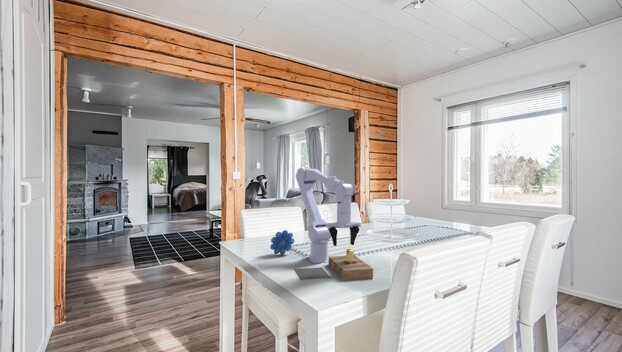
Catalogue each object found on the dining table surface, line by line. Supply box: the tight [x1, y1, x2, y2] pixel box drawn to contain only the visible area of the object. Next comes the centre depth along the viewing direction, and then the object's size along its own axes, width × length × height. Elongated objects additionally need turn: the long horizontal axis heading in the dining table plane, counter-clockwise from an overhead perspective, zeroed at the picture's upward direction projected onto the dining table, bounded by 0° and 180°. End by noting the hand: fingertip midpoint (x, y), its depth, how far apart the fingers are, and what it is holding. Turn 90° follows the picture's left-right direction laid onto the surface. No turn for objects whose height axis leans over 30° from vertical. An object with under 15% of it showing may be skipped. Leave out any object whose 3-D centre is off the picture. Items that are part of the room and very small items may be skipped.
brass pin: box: [345, 248, 355, 264], centre depth 118 cm, size 3×3×9 cm
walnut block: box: [328, 254, 374, 281], centre depth 118 cm, size 18×12×4 cm, turn 15°
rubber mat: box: [293, 266, 331, 281], centre depth 114 cm, size 12×12×1 cm
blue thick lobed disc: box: [270, 229, 295, 256], centre depth 141 cm, size 12×7×12 cm, turn 100°
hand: (343, 245), depth 120 cm, fingers open, 7 cm apart
